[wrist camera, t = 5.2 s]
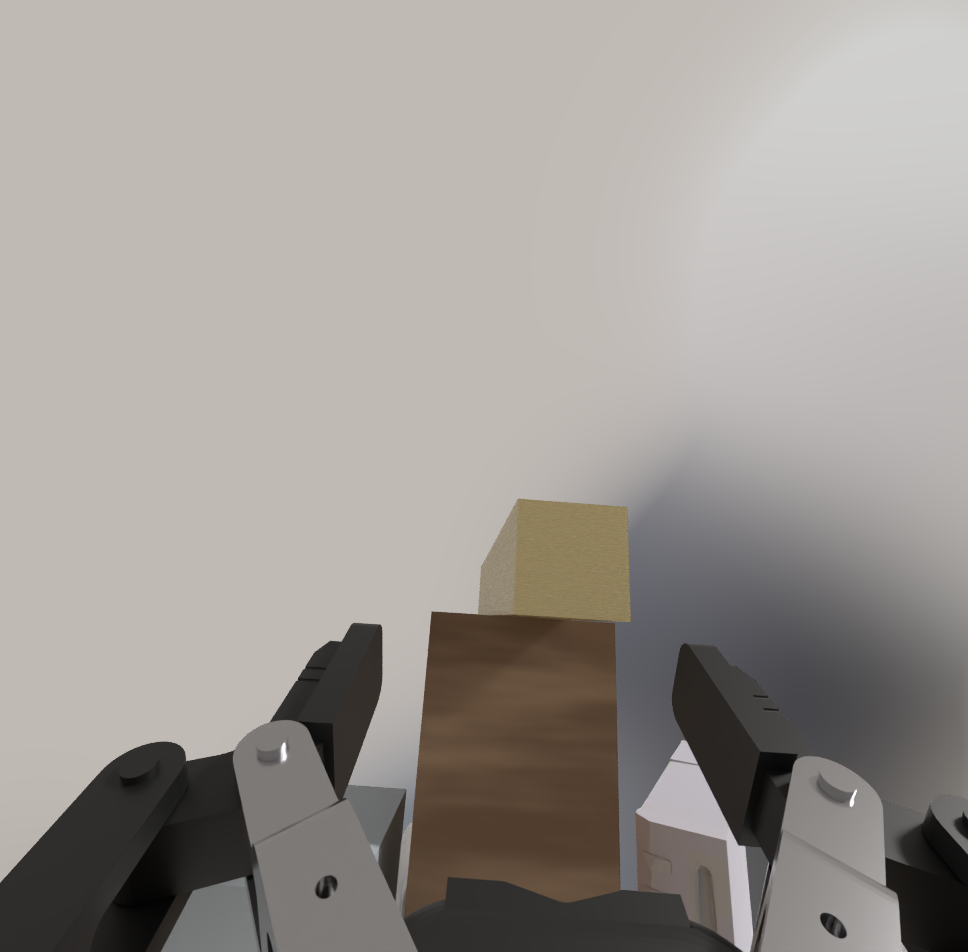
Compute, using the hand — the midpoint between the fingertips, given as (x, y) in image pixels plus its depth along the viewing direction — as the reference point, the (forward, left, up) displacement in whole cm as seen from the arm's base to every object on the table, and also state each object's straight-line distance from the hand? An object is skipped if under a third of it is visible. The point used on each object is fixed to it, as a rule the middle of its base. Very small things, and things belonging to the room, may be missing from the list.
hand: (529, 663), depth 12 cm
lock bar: (-13, -8, +1) cm, 15 cm away
